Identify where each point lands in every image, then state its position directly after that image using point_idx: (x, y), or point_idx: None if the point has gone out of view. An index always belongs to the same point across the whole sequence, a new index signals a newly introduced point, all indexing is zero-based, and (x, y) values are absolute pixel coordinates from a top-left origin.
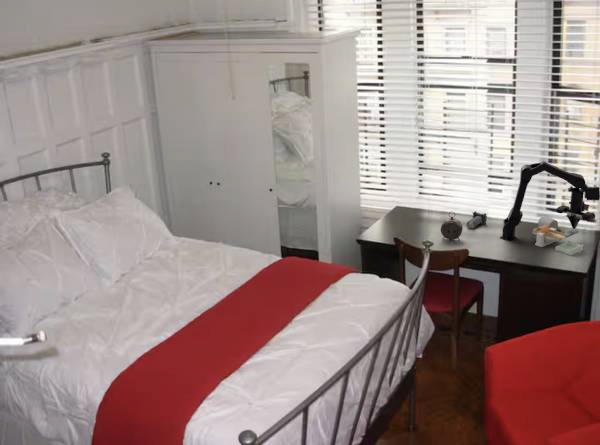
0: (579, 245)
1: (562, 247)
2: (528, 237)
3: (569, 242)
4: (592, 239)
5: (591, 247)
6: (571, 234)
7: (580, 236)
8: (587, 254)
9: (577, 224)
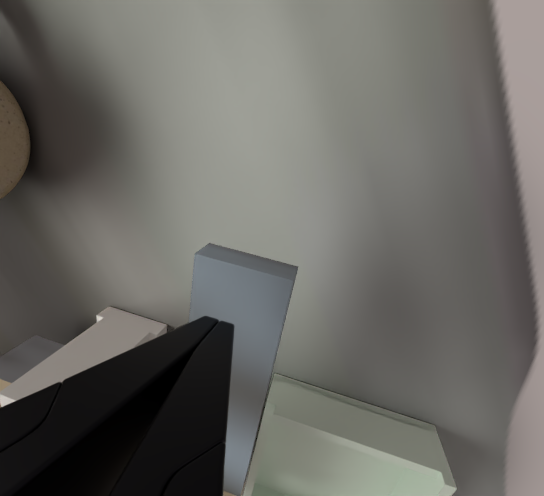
0: (404, 460)
1: (269, 441)
2: (10, 336)
3: (292, 421)
4: (469, 66)
5: (503, 336)
6: (261, 414)
7: (287, 59)
8: (493, 486)
9: (229, 393)
